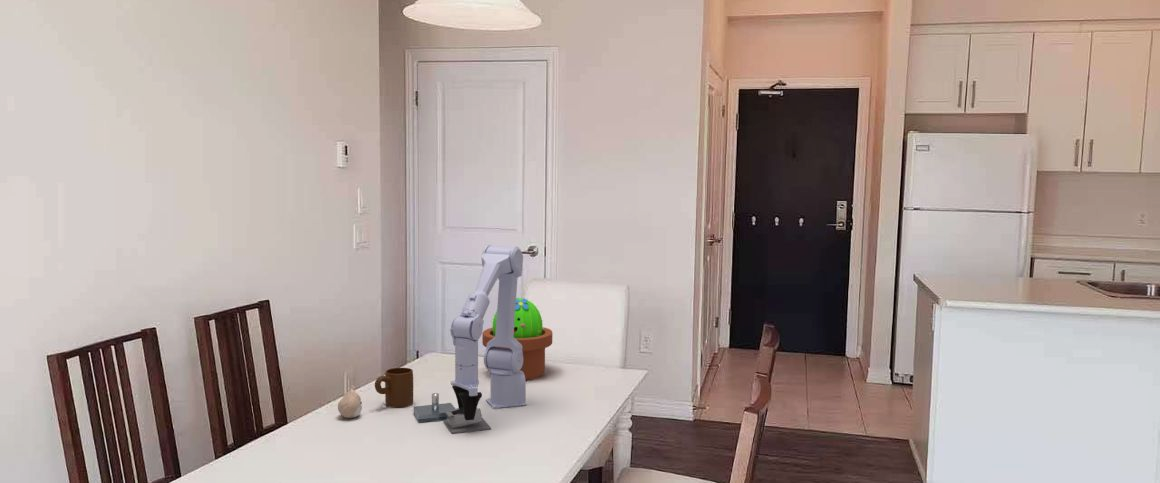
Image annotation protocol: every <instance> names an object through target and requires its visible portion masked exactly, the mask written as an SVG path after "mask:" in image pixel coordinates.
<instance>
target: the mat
mask: <svg viewBox="0 0 1160 483" xmlns="http://www.w3.org/2000/svg"><path fill="white" fill-rule="evenodd" d="M442 422H443V424H444V425H445V426H446V428H447V429H448V432H450V434H451V435H454V434H462V433H463V434H464V433H471V432H472V433H474V432H479V431H481V432H482V431H489V430H492V427H491V426H490V425H489V423H488V422H487V421H486V420H485V419H484V418H483V417H482V421H480V422H477V423H473V424H469V425H466V426H462V427H458V428H455V429H451V428H450V426H449V425H448V423H447V420H443V421H442Z"/></svg>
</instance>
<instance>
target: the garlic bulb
mask: <svg viewBox="0 0 1160 483" xmlns="http://www.w3.org/2000/svg"><path fill="white" fill-rule="evenodd" d="M355 389H357V387H356V386H355V385H353V384H351V385H350V390H348V391H347V392H345V394H344V395H343V397H342V398H341V399H340V401H339V402H338V404H337V411H338V412H339V414H340V415H341V416H342V417H343V418H345V419H353V418H356V417H358V416H359V415H360V414H361V412H362V409H363V401H362V400H361V396H360V395H359V394H358V393H357V392H356V391H355Z"/></svg>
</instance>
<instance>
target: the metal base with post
mask: <svg viewBox="0 0 1160 483" xmlns="http://www.w3.org/2000/svg"><path fill="white" fill-rule="evenodd" d="M439 395H440V394H439V393H438V392H435V393H431V404H425V405H415V406H413V416H414V417H415V419H416V421H417V422H418V423H419V424H421V423H431V422H440V421H441V422H443V420H446V414H445V412H446V411H449V410H453V409H456V407H455V406H454V405H453V404H452V402H446V403H440V396H439Z"/></svg>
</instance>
